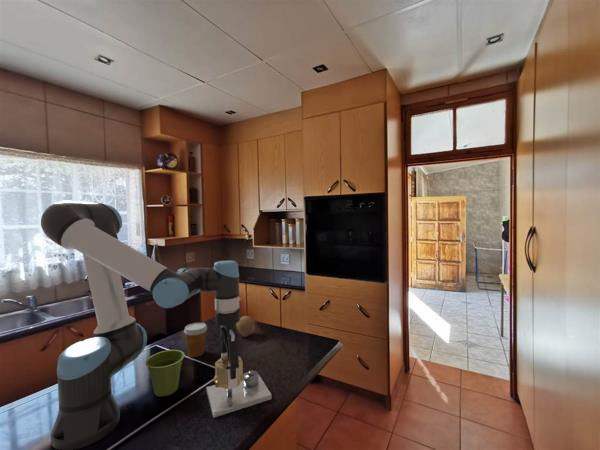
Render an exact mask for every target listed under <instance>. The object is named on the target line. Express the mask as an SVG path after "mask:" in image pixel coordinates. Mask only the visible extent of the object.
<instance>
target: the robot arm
mask: <svg viewBox="0 0 600 450" xmlns="http://www.w3.org/2000/svg"><path fill="white" fill-rule="evenodd" d="M122 226H123V219H122V216H121V214H120V212H119V211H118V210H117V209H116V208H115V207H114V206H112V205H110V204H106V203H102V202H90V201H75V200H61V201H58V202H54V203H53V204H51V205H49V206H48V207H47V208H45V210H44V212H43V213H42V215H41V217H40V227H41V230H42V232H43V233H44V234H45V236H46V237H47V238H48V239H50V240H51V241H52V242H53V243H55V244H57V245H58V246H60V247H62V248H64V249H65V250H69V251H70V250H75V251H77V252H78V253H80V254H82V257H83V261H84V266H85V271H86V274H87V276H86V277H87V279H88V284H89V290H90V294H91V298H92V303H93V308H94V312H95V317H96V320H97V321H96V322H97V326H96V327H95V329H94V330H93V336H94V337H89V338H85V339H84V340H80V341H77V342H75V343H73V344H71V345H70V346H68V347H67V348H65V349H64V350H62V352H61V354H60V355H59V356H58V359H57V367H56V375H57V376H56V377H57V392H58V393H57V394H58V412H57V416H56V418H55V421H54V424H53V427H52V430H51V434H50V443H51V444H50V445H51V447H52V446H53V447H54V448H56V449H62V450H71V449H72V450H73V449H75V450H79V449H82V448H86V447H87V446H89V445H91V444H94V443H95V442H98V441H99V440H102V439H103V438H105V437H106V436H108V434H110V433H111V432H112V431H113V430H115V428H116V427H117V425H118V424H119V422H120V417H121V414H120V413H121V412H120V408H119V404H118V403H117V401H116V399H115V397H114V394H113V393H112V392H113V391H112V390H113V389H112V377H114V376H115V375H116V374H117V373H119V372H120V371H121V370H122V369H124V368H126V366H128V365H129V364H130V363H132V362H134V361H135V360H136V359H137V358H138V357H139V356H140V355H141V354H142V353H143V352H144V350H145V348H146V347H147V342H148V334H147V332H146V329H145V328H144V327H143V326H141V324H140V323H137V320H136V318H135V317H133V316H131V315H130V314H129V310H128V309H129V308H128V304H127V300H126V299H127V298H126V295H125V291H124V285H123V281H122V277H123V278H125V279H127V280H128V281H130V282H132V283H134V284H135V285H137V286H140V287H141V288H143V289H145V290H146V291H148V292H150V293H151V294H152V298H153V300H154V302H155V304H156V305H157V306H158V307H161V308H164V309H172V308H174V307H176V306H179V305H181V304H183V303H184V302H185V301H187V300H188V299H190V298H191V297H193V296H194V295H197V294H198V293H206V292H207V293H210V292H214V310H215V312H214V313H215V315H214V317H215V318H214V319H215V324H216V325H218V326H220V327H219V329H220V332H219V348H220V353H221V354H220V355H221V357H220V358H222V357H226V356H227V357H228V367H226V370H228V390H230V389H233V388H237V368H239V361H238V356H239V350H238V333H237V329H236V327H235V324H237V323H238V322H239V320H240V318H241V314H240V312H241V311H240V301H241V300H242V299H241V297H240V272H239V264H238V262H237V261H235V260H229V259H228V260H220V261H215V262H214V264H213V267H191V266H190V267H186V268H185V267H183V268H182V267H181V268H179V269H178V270H176V272H175V271H174V270H171V269H170V268H168V267H167V266H165V265H163V264H161V263H159V262H157V260H155V259H152V258H150V256H147V255H146V254H145V253H144V254H143V253H142V252H140V251H139V250H137V249H135V248H133V247H131V246H130V245H128V244H126V243H124V242H122V241H121V240H119V237H118V234H119V233H120V231H121V229H122ZM53 447H52V448H53ZM54 448H53V449H54ZM56 449H55V450H56Z"/></svg>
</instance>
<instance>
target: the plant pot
mask: <svg viewBox="0 0 600 450" xmlns="http://www.w3.org/2000/svg"><path fill="white" fill-rule="evenodd" d="M185 355H186V354H185V352H183V351H182V350H178V349H169V350H163V351H159V352H157V353H155V354H152V355H151V356H150V357H148V358H147V359H146V361H145V365H146V366H147V369H148V371H149V374H150V378H151V383H152V388H153V392H154V395H155V396H156V397H161V398H162V397H166V396H171V395H172V394H174V393H175V392H176V391H177V390H178V388H179V384H180V376H181V370H182V364H183V360H184V358H185Z"/></svg>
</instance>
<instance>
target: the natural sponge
mask: <svg viewBox="0 0 600 450" xmlns="http://www.w3.org/2000/svg"><path fill="white" fill-rule="evenodd" d="M255 326H256V325H255V321H254V319H253V318H252V317H251V316H249V315H243V316H240V320H239V322H238V323H236V327H235V328H236V331H238V333H239V334H240V335H241V336H242V337H244V338H245V337H246V338H247V337H248V336H250V335H252V334H254V332H255V330H256V327H255Z"/></svg>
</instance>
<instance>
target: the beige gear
mask: <svg viewBox="0 0 600 450" xmlns="http://www.w3.org/2000/svg"><path fill="white" fill-rule="evenodd" d="M238 361H239V368H237V386H239V385H240V382H241V381H244V374H245V373H244V368H243V367H244V365H243V364H244V362H243V358H241V356H239V355H238ZM226 367H228V357H227V356H226V357H222V358H221V357H219V358H218V359H217V360H216V361H215V362H214V370H215V371H214V372H215V374H214V377H213V383H215V384H214V385H215V387H217V388H218V387H221V388H224V389H228V370H226Z"/></svg>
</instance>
